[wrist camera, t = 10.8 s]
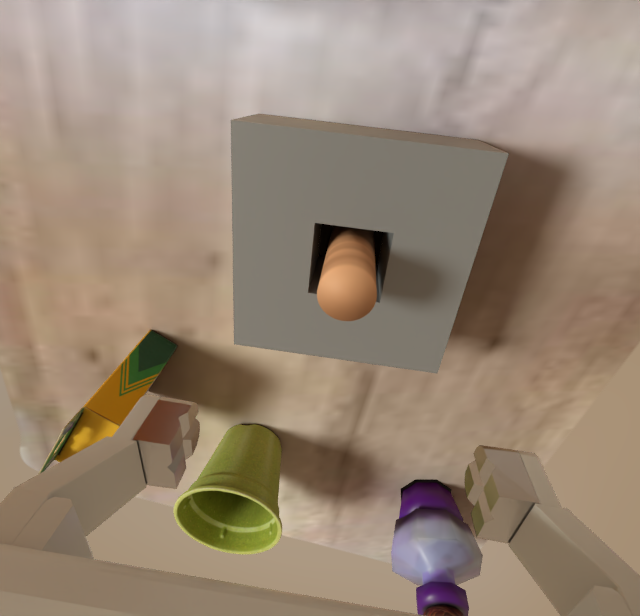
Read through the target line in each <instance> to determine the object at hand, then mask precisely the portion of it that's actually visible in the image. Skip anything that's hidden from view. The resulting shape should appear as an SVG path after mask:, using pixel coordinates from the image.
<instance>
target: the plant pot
mask: <svg viewBox="0 0 640 616" xmlns="http://www.w3.org/2000/svg"><path fill="white" fill-rule="evenodd" d="M281 453H282V449H281V445H280V441H279V439H278V437H277V436H276V435H275V434H274V433H273V432H271V431H270V430H269V429H267V428H265V427H262V426H260V425H256V424H253V425H241V424H239V425H236V426H233V427H232V428H230V429H229V430H228V431H227V432H226V434H225V436H224V437H223V439H222V440H221V442H220V444H219V445H218V447H217V449H216V450H215V452H214V454H213V455H212V457H211V459H210V460H209V462H208V463H207V465H206V467H205V468H204V470H203V471H202V473H201V475H200V476H199V478H198V479H197V481H195V482H194V483H193V484H192V485H191V487H190V488H189V490H188V491H186V492H184V493H183V494H182V495H181V496H180V497H179V498H178V500H177V501H176V503H175V506H174V517H175V520H176V522H177V524H178V525H179V527H180V528H181V529H182V530H183V531H184V532H185V533H186V534H187V535H189V536H190V537H191V538H192V539H194V540H196V541H198V542H200V543H201V544H203V545H205V546H207V547H209V548H212V549H215V550H218V551H222V552H227V553H233V554H255V553H260V552H263V551H267V550H269V549H271V548H272V547H274V546H275V545H276V544H277V543H278V542H279V540H280V538H281V534H282V523H281V520H280V518H279V507H278V492H279V478H280V465H281Z"/></svg>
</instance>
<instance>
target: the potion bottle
mask: <svg viewBox="0 0 640 616" xmlns="http://www.w3.org/2000/svg"><path fill="white" fill-rule="evenodd" d="M391 553H392V571H393V572H395V573H396V574H399V575H400V576H402V577H404V578H405V579H407V580H409V581H411V582H413V583H414V584H416V585H421V586H420V587H418V588H417V589H416V600H417V610H418V615H424V616H468V610H469V606H468V601H467V596H466V591H465V590H464V589H462V588H460V587H458V586H457V585H458V584H461V583H463V582H465V581H468V580H470V579H472V578H474V577H477V576H479V575H480V570H481V563H482V554H481V551H480V549H479V547H478V545H477V542H476V540H475V538H474V536H473V534H472V532H471V530H470V528H469V526H468V524H466V523H464V522H463V518H462V516H461V514H460V512H459V510H458V507H457V505H456V503H455V501H454V499H453V497H452V495H451V489H450V488H448V487H447V486H445V485H444V484H442V483H441V482H439V481H438V480H414V481H413V482H411V483H409V484H408V485H406V486H405V487H403V488H401V509H400V516H399V519H397V520H396V525H395V531H394V538H393V545H392V551H391Z"/></svg>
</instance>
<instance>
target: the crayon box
mask: <svg viewBox="0 0 640 616" xmlns="http://www.w3.org/2000/svg"><path fill="white" fill-rule="evenodd" d="M176 348H177V345H176V344H174V343H173V342H171V341H169V340H167V339H166V338H164V337H163V336H161V335H159V334H158V333H156V332H154V331H153V330H149V331H148V333H147V334H146V335H145V336H144V337H143V338H142V339H141V341H140V342H139V343H138V344H137V345H136V346H135V348H134V349H133V350H132V351H131V352H130V353H129V355H128V356H127V357H126V358H125V359H124V361H123V362H122V363H121V364H120V365H119V366H118V368H117V369H116V370H115V371H114V372H113V373H112V374H111V376H110V377H109V378H108V379H107V380H106V381H105V382H104V383H103V385H102V386H101V387H100V388H99V389H98V390H97V392H96V393H95V394H94V395H93V396H92V397H91V398H90V400H89V401H88V402H87V403H86V404H85V405H84V406H83V407H82V408H81V409H80V411H79V412H78V413H77V414H76V415H75V416H74V417H73V418H72V419H71V421H70V422H69V423H68V424H67V425H66V426H65V427H64V428H63V430H62V432H61V434H60V436H59V438H58V440H57V441H56V443H55V445H54V447H53V449H52V450H51V452H50V454H49V456H48V457H47V459H46V461H45V463H44V465H43V467H42V468H41V470H40V472H39V474H40V473H42V472H44V471H45V469H46V468H47V467H48V466H49V465H50V463H51V462H52V461H53V460H57V461H58V462H62V461H63V460H65V459H67V458H69V457H71V456H72V455H74V454H76V453H78V452H80V451H81V450H83V449H85V448H87V447H89V446H90V445H92V444H94V443H96V442H98V441H99V440H101V439H103V438H105V437H107V436H108V437H112V436H113V435H114V434H115V432H116V431H117V430H118V428H119V427H120V425H121V424H122V423H123V421H124V420H125V419H126V417H127V416H128V414H129V413H130V412H131V410H132V409H133V407H134V406H135V405H136V403H137V402H138V401H139V399H140V398H141V397H142V396H144V395H145V394H146V393H147V391H148V390H149V388H150V387H151V386H152V384H153V383H154V381H155V380H156V378H157V377H158V375H159V374H160V372H161V371H162V369H163V368H164V366H165V365H166V363H167V362H168V360H169V359H170V357H171V356H172V354H173V353H174V351H175V349H176ZM63 437H64V438H63ZM62 439H63V440H62ZM61 440H62V441H61ZM60 442H61V443H60ZM57 447H58V448H57ZM56 448H57V449H56ZM55 450H56V451H55ZM54 451H55V452H54Z"/></svg>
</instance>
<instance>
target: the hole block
mask: <svg viewBox="0 0 640 616" xmlns="http://www.w3.org/2000/svg"><path fill="white" fill-rule="evenodd" d="M508 155H509V153H507V152H504V151H502V150H500V149H498V148H495V147H493V146H491V145H488V144H486V143H484V142H482V141H479V140H474V139H466V138H458V137H449V136H441V135H433V134H424V133H416V132H408V131H399V130H391V129H383V128H374V127H366V126H357V125H349V124H341V123H332V122H324V121H316V120H307V119H299V118H291V117H282V116H274V115H266V114H256V115H251V116H247V117H242V118H238V119H233V120H231V161H232V231H233V301H234V344H236V345H243V346H250V347H257V348H264V349H271V350H278V351H285V352H292V353H299V354H306V355H313V356H320V357H327V358H334V359H341V360H347V361H354V362H361V363H368V364H375V365H382V366H389V367H396V368H403V369H410V370H417V371H424V372H431V373H438V370H439V367H440V364H441V361H442V358H443V355H444V352H445V349H446V345H447V342H448V339H449V336H450V333H451V330H452V327H453V324H454V321H455V318H456V315H457V312H458V309H459V305H460V302H461V299H462V296H463V293H464V290H465V287H466V284H467V281H468V278H469V275H470V272H471V269H472V265H473V262H474V259H475V256H476V253H477V250H478V247H479V244H480V241H481V238H482V235H483V232H484V229H485V225H486V222H487V219H488V216H489V213H490V210H491V207H492V204H493V201H494V198H495V195H496V192H497V189H498V185H499V182H500V179H501V176H502V173H503V170H504V167H505V164H506V161H507V158H508ZM322 224H328V225H335V226H343V227H351V228H358V229H366V230H374V231H381V232H383V237H382V243H381V248H380V253H379V258H378V264H377V265H376V264H375V269H376V288H377V299H376V303H375V305H374V307H373V309H372V310H371V311H370V312H369V313H368V314H367V315H366V316H364V317H363V318H361V319H358V320H354V321H341V320H337V319H334V318H332V317H330V316H329V315H328V314H326V313H325V312H324V311H323V310H322V308H321V307H320V305H319V302H318V299H317V289H318V285H319V281H320V277H321V273H322V269H323V265H324V261H325V258H323V257H318V254H319V245H320V235H321V226H322Z"/></svg>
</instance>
